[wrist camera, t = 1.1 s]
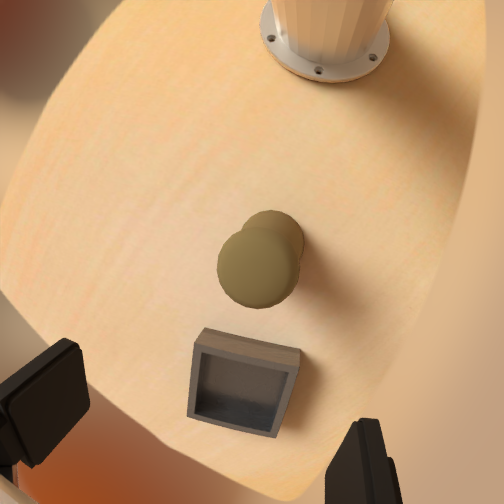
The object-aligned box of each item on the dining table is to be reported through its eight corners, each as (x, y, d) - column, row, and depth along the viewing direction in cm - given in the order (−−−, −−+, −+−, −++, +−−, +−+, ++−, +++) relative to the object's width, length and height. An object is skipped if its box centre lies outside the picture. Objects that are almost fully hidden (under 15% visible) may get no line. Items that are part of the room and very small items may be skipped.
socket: (204, 327, 31) (194, 342, 28) (300, 349, 30) (299, 367, 27) (195, 398, 34) (186, 416, 30) (278, 418, 32) (275, 438, 29)
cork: (249, 201, 28) (218, 209, 18) (312, 221, 28) (321, 241, 17) (231, 263, 30) (194, 304, 19) (292, 283, 29) (287, 335, 18)
